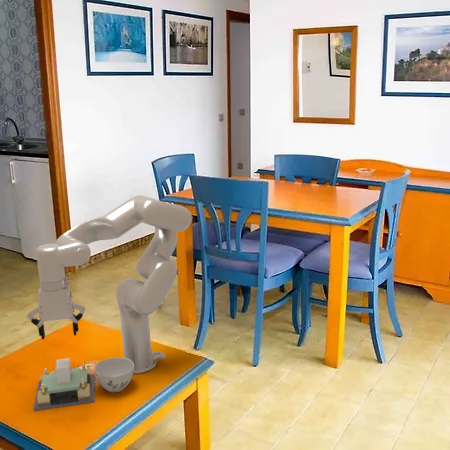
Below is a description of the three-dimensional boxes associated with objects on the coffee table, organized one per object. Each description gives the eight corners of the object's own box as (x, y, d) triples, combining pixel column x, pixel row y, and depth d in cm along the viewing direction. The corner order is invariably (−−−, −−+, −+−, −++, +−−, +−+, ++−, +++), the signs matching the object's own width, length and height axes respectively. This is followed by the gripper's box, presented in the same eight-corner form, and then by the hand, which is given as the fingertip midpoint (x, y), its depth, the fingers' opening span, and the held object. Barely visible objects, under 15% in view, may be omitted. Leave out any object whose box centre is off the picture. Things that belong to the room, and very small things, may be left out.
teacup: (134, 396, 178) (132, 374, 176) (94, 400, 177) (92, 377, 174) (136, 372, 192) (134, 351, 190) (99, 376, 191) (97, 354, 189)
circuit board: (87, 369, 187) (85, 351, 186) (86, 388, 176) (85, 369, 174) (43, 375, 185) (41, 357, 183) (40, 394, 173) (37, 375, 172)
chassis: (94, 376, 191) (92, 357, 189) (94, 402, 175) (92, 382, 174) (39, 384, 187) (36, 365, 185) (34, 410, 172) (31, 390, 170)
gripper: (82, 277, 177) (87, 327, 181) (25, 283, 173) (31, 333, 178) (82, 285, 170) (87, 337, 174) (21, 291, 166) (29, 344, 171)
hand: (59, 335), depth 176 cm, fingers open, 9 cm apart
